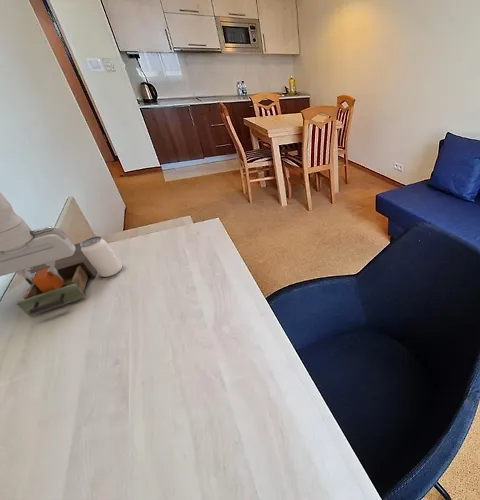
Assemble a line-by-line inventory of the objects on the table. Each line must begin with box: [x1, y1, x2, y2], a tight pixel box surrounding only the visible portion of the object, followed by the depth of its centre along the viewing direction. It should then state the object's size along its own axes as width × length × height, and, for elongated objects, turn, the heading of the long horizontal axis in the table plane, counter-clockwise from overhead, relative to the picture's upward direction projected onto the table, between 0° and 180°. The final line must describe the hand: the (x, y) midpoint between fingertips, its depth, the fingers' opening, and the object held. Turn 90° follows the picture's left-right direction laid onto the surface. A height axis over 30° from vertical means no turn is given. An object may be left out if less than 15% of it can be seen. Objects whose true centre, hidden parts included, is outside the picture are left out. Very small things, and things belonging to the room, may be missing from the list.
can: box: [80, 236, 123, 278], centre depth 96 cm, size 6×6×12 cm
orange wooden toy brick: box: [33, 268, 64, 293], centre depth 88 cm, size 3×7×6 cm, turn 28°
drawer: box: [16, 265, 89, 317], centre depth 89 cm, size 19×13×5 cm
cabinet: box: [25, 241, 98, 286], centre depth 99 cm, size 16×15×7 cm
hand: (45, 277), depth 87 cm, fingers closed on orange wooden toy brick, 3 cm apart
